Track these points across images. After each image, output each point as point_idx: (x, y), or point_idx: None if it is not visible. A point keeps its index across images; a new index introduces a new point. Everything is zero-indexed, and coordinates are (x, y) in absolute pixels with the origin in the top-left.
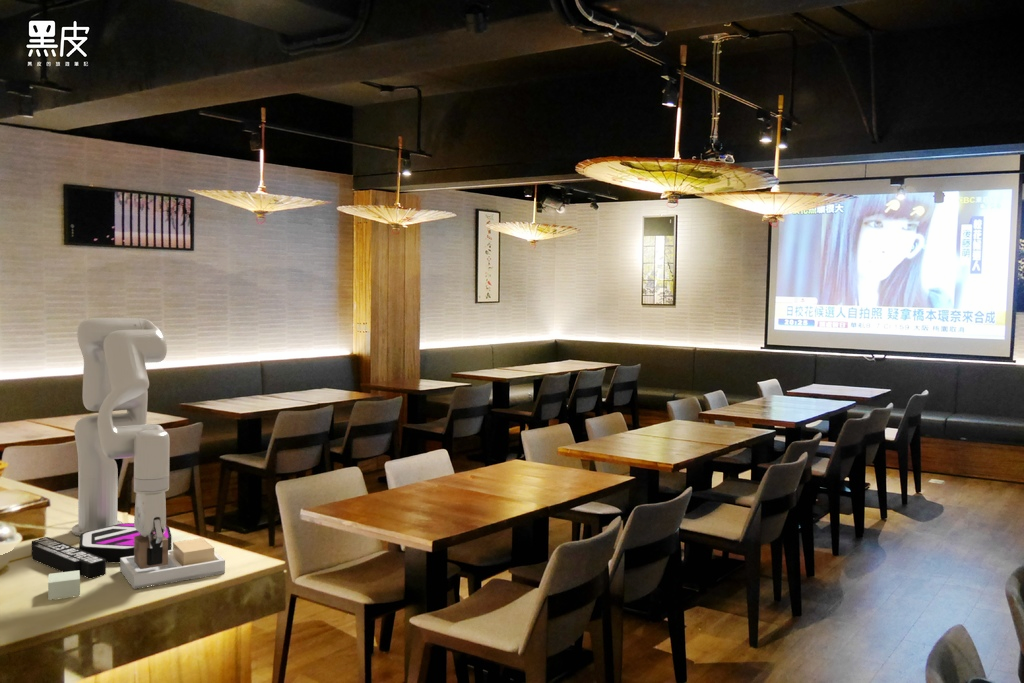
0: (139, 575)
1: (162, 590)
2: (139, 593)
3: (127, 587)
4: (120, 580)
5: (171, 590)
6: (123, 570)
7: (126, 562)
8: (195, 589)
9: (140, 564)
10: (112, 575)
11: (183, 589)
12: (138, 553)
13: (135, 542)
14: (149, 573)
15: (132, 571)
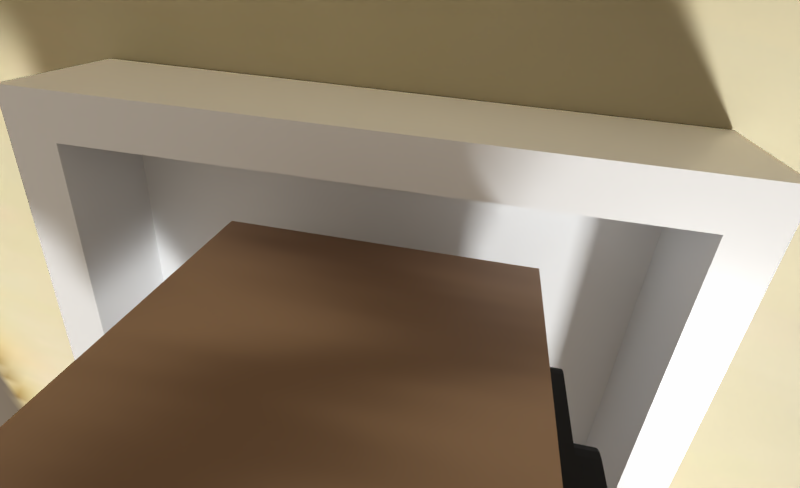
0: (14, 137)
1: (35, 227)
2: (13, 65)
3: (198, 27)
4: (436, 34)
5: (19, 270)
6: (569, 124)
7: (538, 181)
8: (2, 370)
9: (202, 247)
10: (664, 11)
11: (19, 327)
12: (250, 333)
13: (443, 485)
14: (42, 234)
15: (145, 117)
